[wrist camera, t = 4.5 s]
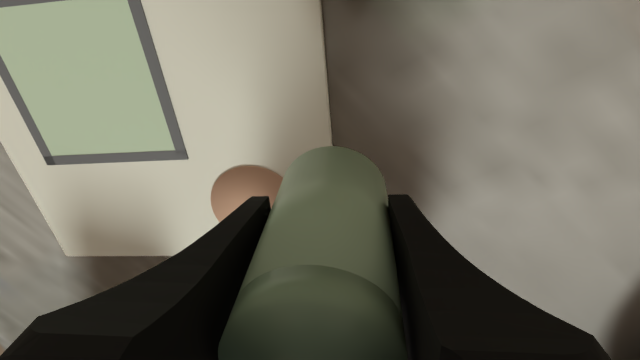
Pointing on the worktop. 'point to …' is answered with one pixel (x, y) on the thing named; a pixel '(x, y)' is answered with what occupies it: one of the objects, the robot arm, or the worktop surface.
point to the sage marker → (322, 269)
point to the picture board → (157, 112)
